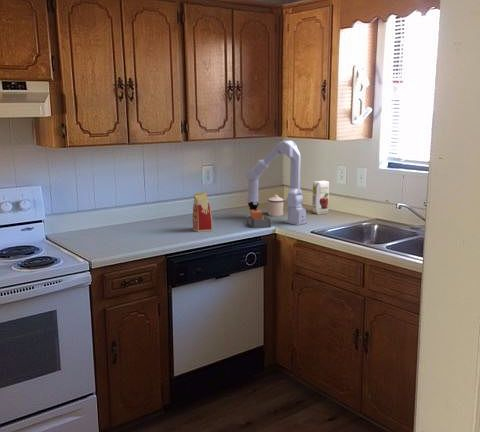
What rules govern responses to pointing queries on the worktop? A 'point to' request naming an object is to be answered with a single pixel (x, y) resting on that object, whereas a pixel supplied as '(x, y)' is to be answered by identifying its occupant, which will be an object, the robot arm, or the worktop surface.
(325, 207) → the juice carton
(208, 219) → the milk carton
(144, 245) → the worktop surface
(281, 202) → the teacup with lid
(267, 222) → the coupler channel
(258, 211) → the block
